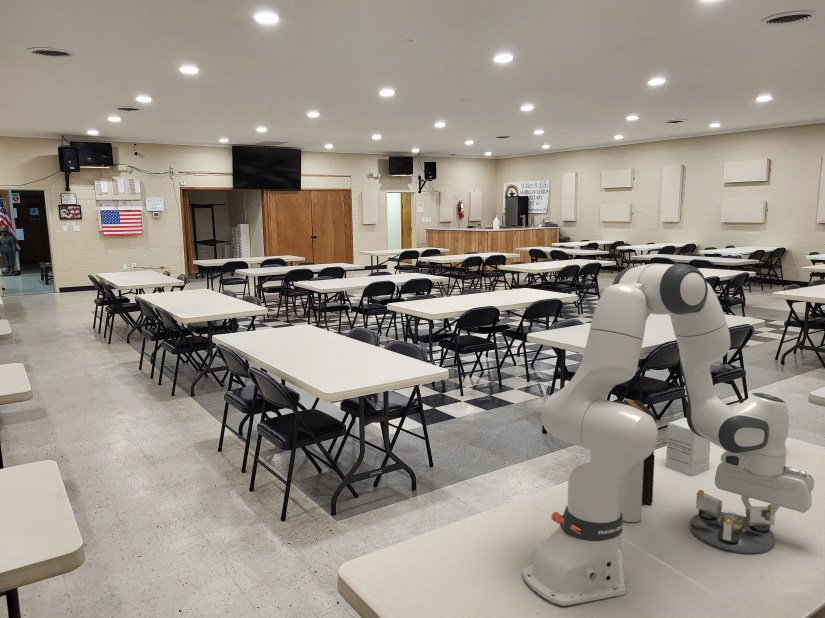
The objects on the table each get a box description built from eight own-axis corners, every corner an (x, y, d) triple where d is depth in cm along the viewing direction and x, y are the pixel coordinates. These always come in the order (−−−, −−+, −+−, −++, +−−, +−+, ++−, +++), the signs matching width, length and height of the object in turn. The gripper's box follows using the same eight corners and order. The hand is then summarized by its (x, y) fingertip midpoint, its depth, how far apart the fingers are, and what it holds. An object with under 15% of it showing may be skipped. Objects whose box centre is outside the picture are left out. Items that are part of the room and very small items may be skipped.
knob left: (724, 519, 153) (726, 496, 153) (712, 523, 152) (713, 500, 151) (703, 509, 159) (704, 487, 158) (691, 513, 157) (692, 490, 156)
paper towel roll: (627, 525, 155) (631, 442, 152) (610, 514, 160) (613, 434, 157) (649, 519, 158) (653, 438, 155) (632, 509, 163) (636, 431, 160)
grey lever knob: (752, 533, 147) (754, 509, 146) (742, 524, 151) (743, 500, 150) (777, 532, 147) (779, 508, 146) (766, 523, 151) (768, 500, 150)
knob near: (719, 531, 148) (721, 507, 147) (740, 536, 145) (741, 512, 144) (715, 542, 143) (717, 517, 142) (737, 547, 140) (738, 522, 139)
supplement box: (682, 463, 194) (684, 416, 192) (709, 472, 187) (712, 424, 185) (664, 469, 189) (666, 422, 187) (691, 479, 182) (694, 430, 180)
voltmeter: (656, 506, 165) (661, 415, 161) (623, 506, 165) (627, 415, 162) (637, 482, 180) (640, 398, 177) (607, 481, 181) (610, 398, 177)
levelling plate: (740, 561, 138) (741, 544, 137) (673, 526, 154) (674, 510, 153) (791, 543, 146) (792, 526, 145) (723, 511, 162) (724, 496, 161)
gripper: (818, 470, 141) (813, 527, 143) (723, 447, 156) (719, 499, 158) (811, 477, 137) (805, 536, 139) (714, 453, 152) (710, 507, 153)
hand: (759, 516), depth 148 cm, fingers closed on grey lever knob, 3 cm apart
